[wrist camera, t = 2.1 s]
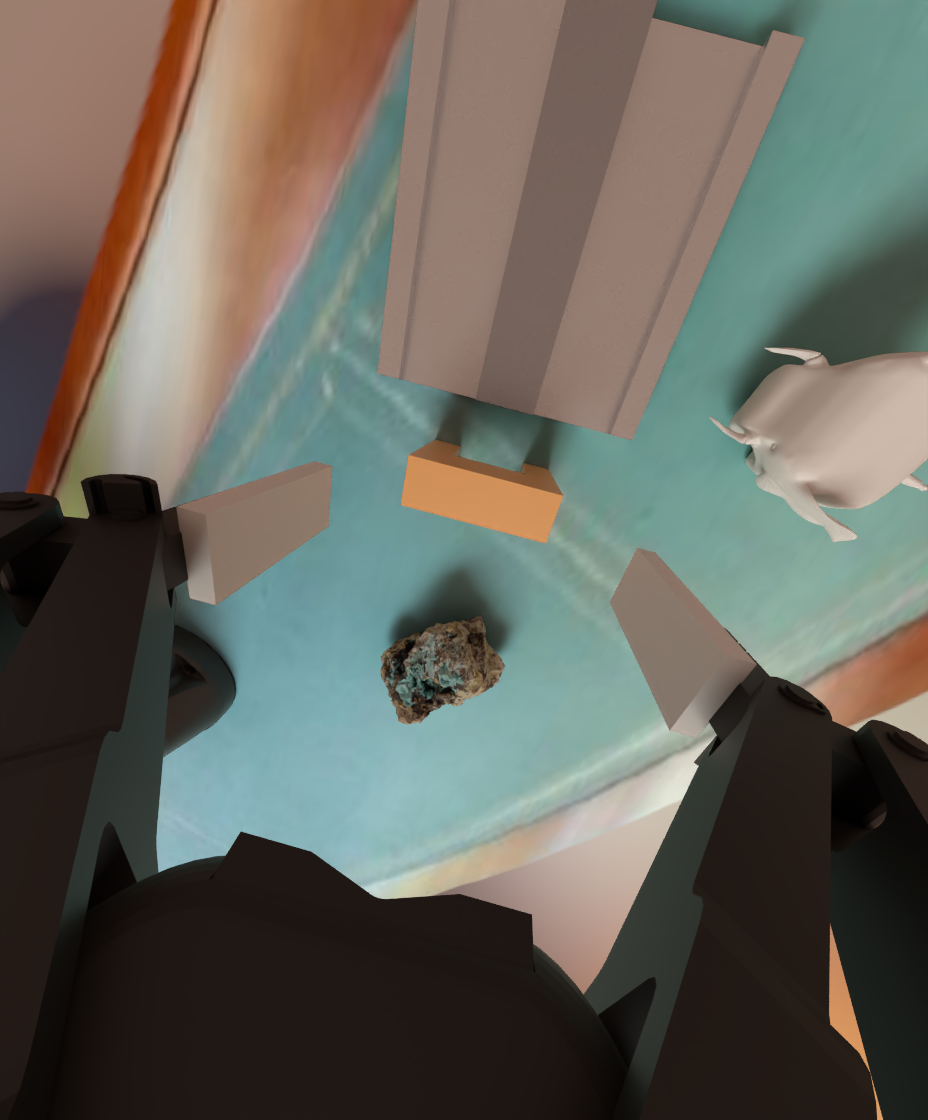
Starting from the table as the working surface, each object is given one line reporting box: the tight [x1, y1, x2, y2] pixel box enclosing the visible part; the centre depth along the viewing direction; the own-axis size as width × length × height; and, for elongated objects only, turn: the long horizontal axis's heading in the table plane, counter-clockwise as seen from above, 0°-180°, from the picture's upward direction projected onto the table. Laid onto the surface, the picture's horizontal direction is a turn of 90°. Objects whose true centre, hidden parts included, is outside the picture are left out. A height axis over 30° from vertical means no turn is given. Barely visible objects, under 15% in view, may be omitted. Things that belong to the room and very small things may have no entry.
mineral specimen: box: [381, 616, 505, 724], centre depth 33 cm, size 12×9×8 cm
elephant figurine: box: [710, 348, 928, 542], centre depth 20 cm, size 10×12×9 cm
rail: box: [378, 0, 805, 440], centre depth 20 cm, size 18×18×4 cm
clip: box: [401, 440, 563, 543], centre depth 24 cm, size 9×3×8 cm, turn 77°
